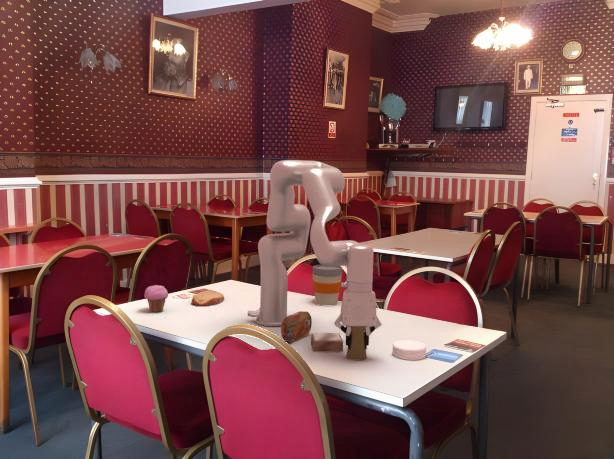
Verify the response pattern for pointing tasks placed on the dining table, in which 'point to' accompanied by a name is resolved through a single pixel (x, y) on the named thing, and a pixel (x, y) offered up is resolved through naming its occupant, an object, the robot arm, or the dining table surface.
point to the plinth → (326, 342)
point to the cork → (357, 344)
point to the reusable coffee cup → (326, 284)
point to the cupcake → (156, 297)
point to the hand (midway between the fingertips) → (356, 347)
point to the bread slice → (207, 298)
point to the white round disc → (409, 350)
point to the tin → (296, 326)
